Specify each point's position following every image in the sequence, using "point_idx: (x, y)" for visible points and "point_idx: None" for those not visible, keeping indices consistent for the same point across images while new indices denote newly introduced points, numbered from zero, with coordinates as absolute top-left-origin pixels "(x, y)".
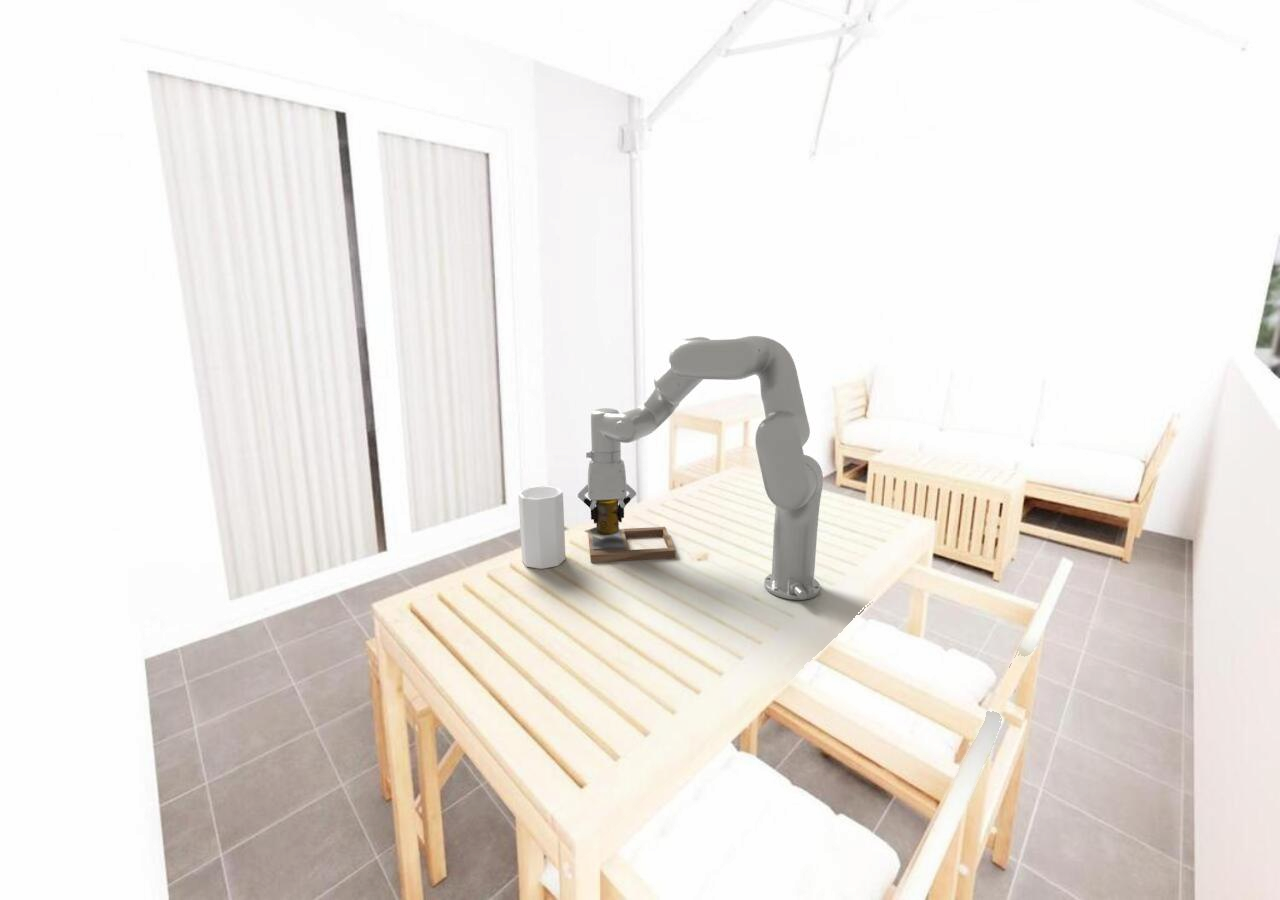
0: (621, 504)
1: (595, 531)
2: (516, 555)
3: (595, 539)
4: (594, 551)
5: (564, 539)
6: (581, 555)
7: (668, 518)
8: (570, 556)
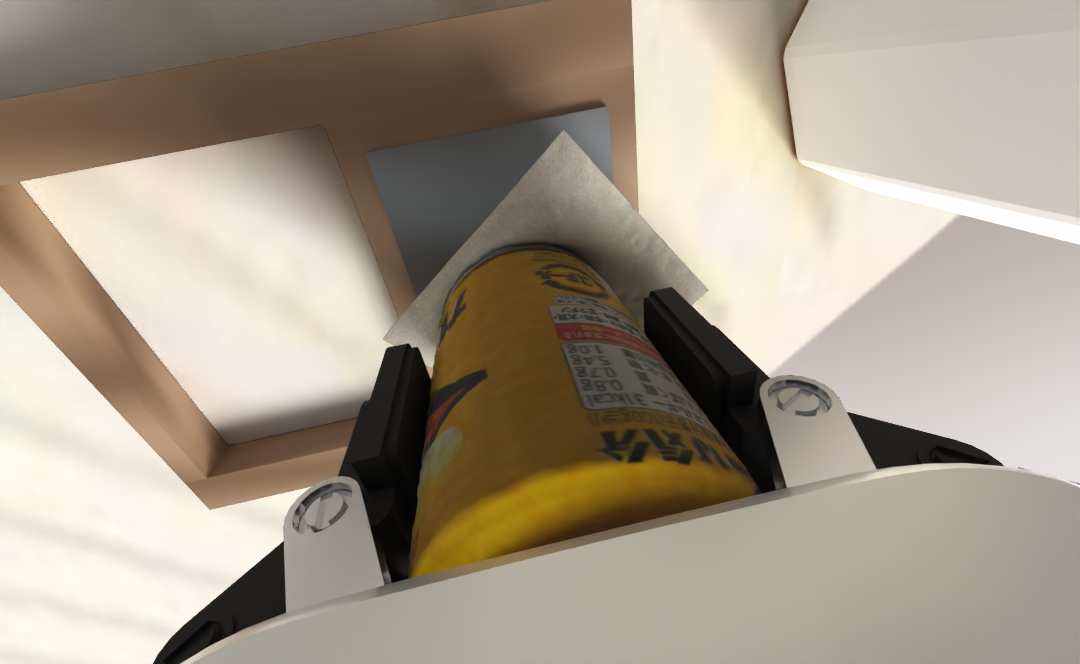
0: (341, 526)
1: (621, 300)
2: None
3: None
4: (600, 79)
5: (928, 24)
6: (673, 137)
7: None
8: (742, 117)
